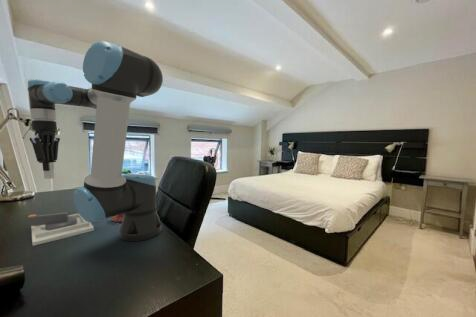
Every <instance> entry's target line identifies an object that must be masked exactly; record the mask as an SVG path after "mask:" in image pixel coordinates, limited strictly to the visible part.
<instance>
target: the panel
mask: <svg viewBox="0 0 476 317" xmlns="http://www.w3.org/2000/svg"><path fill="white" fill-rule="evenodd" d="M68 217H74V218H77V224H76V225H72V226H67V227H63V228H58V229H54V230H46V226H45V225H46V224H45V225H37V226H30V228H31V242H32V243H31V245H32V247H34V246H37V245H41V244H44V243H45V244H46V243H49V242H50V243H51V242H53V241H57V240H58V241H59V240H61V239H66V238H70V237H74V236H77V235H82V234H86V233H89V232H93V231H95V226H93V224H92V223H91V222H87V221H85V220H84V219H83V218H82V217H81V216H80V214H79V213H74V214H70V215H69V214H68Z"/></svg>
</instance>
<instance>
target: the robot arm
mask: <svg viewBox="0 0 476 317" xmlns="http://www.w3.org/2000/svg"><path fill="white" fill-rule="evenodd" d="M82 72H83V76H84V79H85V80H86V81H87V82H88V83H90V84H91V87H90V88H82V87H77V86H72V85H68V84H66V83H65V82H62V81H51V82H50V81H48V80H43V79H30V80H28V82H27V91H28V99H29V100H28V101H29V107H30V108H29V109H30V118H31V120H32V121H31V129H32V130H33V131H35V132H34V136H33V137H29V141H30V143H31V145H32V148H33V151H34V156H35V158H36V162H38V163H39V164H41V165H42V170H43V179H44V180H45V179H46V180H48V179H54V178H55V172H54V171H55V170H54V169H55V168H54V163H56V162H57V160H58V157H59V156H58V154H59V143H60V141H61V138H60V137H57V136H56V134H55V131H57V130H58V126H57V122H56V121H57V113H56V105H65V106H74V107H81V108H89V109H91V108H92V109H95V119H94V130H93V145H92V152H91V153H92V155H91V167H90V173H89V174H88V175H87V176H86V177H85V178H84V181H83V186H79V187H78V188H76V189H75V191H74V193H73V201H74V206H75V208H76V211H77V212H78V213H79V214H80V216H81V217H82V218H83V219H84V220H85V221H87V222H90V223H91V224H92V223H97V222H101V221H106V220H107V219H109V218H110V219H111V217H113V216H116V215H119V214H122V213H124V218H123V221H121V225H120V227H119V238H120V239H121V240H123V241H126V242H140V241H145V240H148V239H152V238H153V237H156V236H159V234H160V233H161V232H162V228H163V227H162V222H161V220H160V216H159V214H158V212H157V210H158V209H157V185H156V178H155V177H154V176H153V175H152V174H151V175H150V174H139V173H138V174H137V173H136V174H135V173H134V174H132V173H131V174H128V173H127V174H123V168H124V167H123V165H124V157H125V149H126V141H127V133H128V125H129V116H130V107H131V104H132V102H134V101H136V100H137V97H139V98H145V97H148V96H151V95H155V94H157V93H158V92H159V91H160V89H162V88H161V87H162V85H163V80H164V79H163V73H162V70H161V68H160V66H159V65H158V64H157V63H156V62H155V61H154V60H153V59H152V58H150V57H148V56H145V55H142V54H141V53H138V52H135V51H134V50H131V49H128V48H126V47H124V46H121V45H120V44H116V43H112V42H109V41H105V40H100V41H95V42H94V43H92V45H90V47H88V49H87V51H86V52H85V55H84V57H83V62H82ZM122 174H123V175H122ZM78 213H77V214H78Z"/></svg>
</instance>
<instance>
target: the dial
mask: <svg viewBox="0 0 476 317" xmlns="http://www.w3.org/2000/svg"><path fill="white" fill-rule="evenodd" d="M68 215H69V212H68V211H65V212H56V213H46V214H39V215H37V213H35V214H30V215H28V216H27V222H28V227H31V226H37V225H45V224H46V225H45V226H46V230H54V229H58V228H63V227H67V226H72V225H76V224H77V218H74V217H68Z"/></svg>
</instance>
